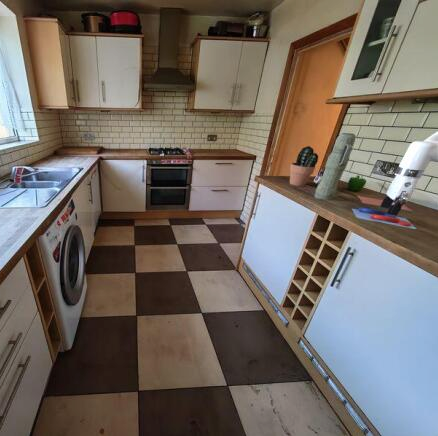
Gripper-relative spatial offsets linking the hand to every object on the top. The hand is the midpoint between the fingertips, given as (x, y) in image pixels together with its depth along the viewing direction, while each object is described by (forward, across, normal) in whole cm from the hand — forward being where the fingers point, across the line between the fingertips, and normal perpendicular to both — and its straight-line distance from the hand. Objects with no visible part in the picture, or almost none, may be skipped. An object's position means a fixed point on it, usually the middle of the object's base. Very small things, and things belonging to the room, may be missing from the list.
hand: (387, 210), depth 101 cm
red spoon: (+5, 0, -2) cm, 5 cm away
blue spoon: (+5, +8, +1) cm, 9 cm away
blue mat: (+5, +4, 0) cm, 7 cm away
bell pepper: (+5, +52, +3) cm, 53 cm away
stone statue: (+6, +22, +21) cm, 31 cm away
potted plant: (+6, +46, +34) cm, 57 cm away
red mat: (+5, +31, -7) cm, 32 cm away
